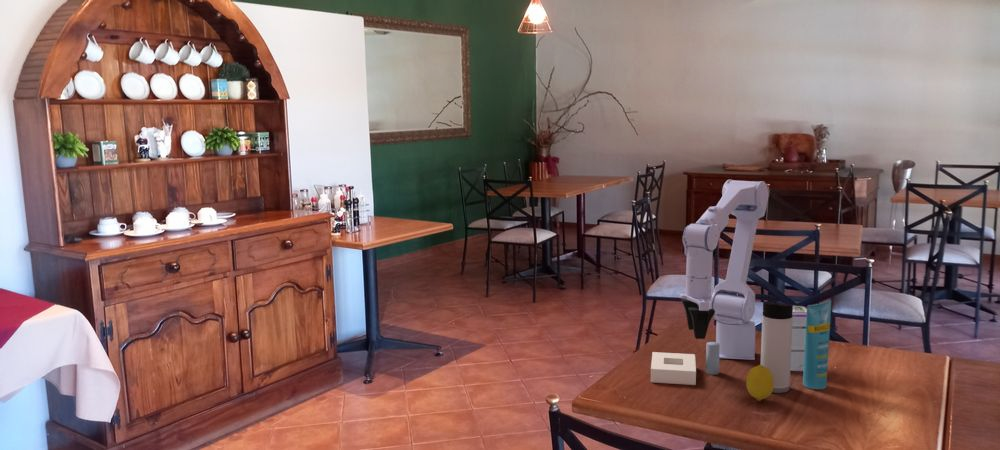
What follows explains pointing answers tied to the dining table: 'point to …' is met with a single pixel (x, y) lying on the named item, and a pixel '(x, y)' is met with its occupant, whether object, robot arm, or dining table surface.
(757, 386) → the lemon
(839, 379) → the dining table surface
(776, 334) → the travel mug
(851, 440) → the dining table surface
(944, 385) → the dining table surface
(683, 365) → the bore block
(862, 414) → the dining table surface
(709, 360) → the dowel
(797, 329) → the syrup box
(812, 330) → the tube
